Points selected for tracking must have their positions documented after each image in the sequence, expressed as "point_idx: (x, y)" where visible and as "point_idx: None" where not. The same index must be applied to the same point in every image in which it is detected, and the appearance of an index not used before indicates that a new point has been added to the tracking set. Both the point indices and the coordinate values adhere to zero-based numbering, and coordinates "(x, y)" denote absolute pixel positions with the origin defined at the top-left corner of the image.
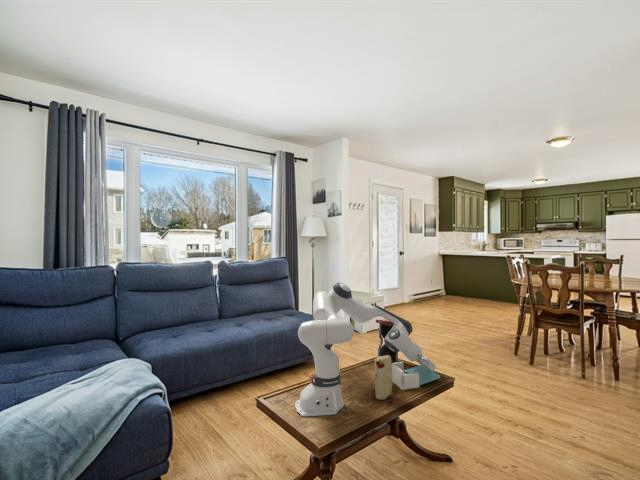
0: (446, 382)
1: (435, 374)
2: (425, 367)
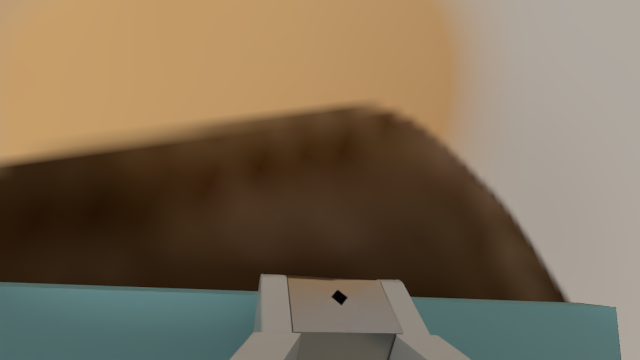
0: (495, 213)
1: (543, 345)
2: (135, 323)
